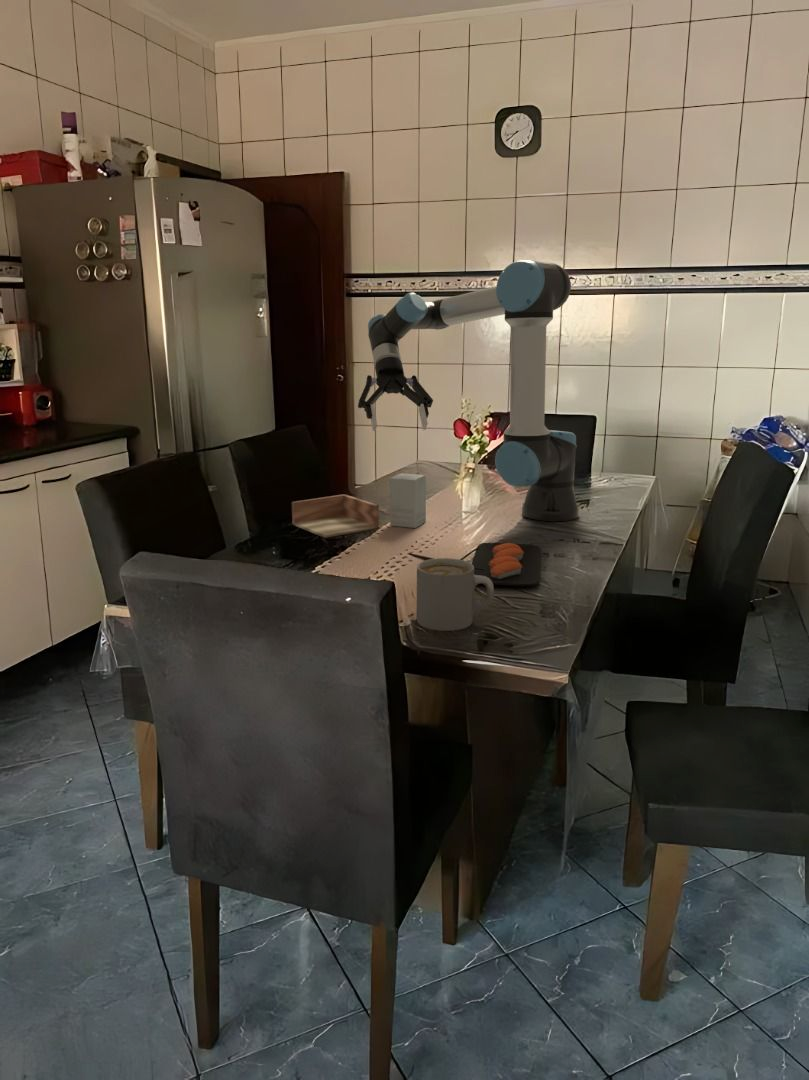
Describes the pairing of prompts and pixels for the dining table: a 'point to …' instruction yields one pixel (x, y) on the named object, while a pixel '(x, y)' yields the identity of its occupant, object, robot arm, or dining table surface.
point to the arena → (335, 515)
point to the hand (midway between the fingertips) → (400, 427)
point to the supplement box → (407, 500)
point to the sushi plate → (506, 563)
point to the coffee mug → (449, 594)
